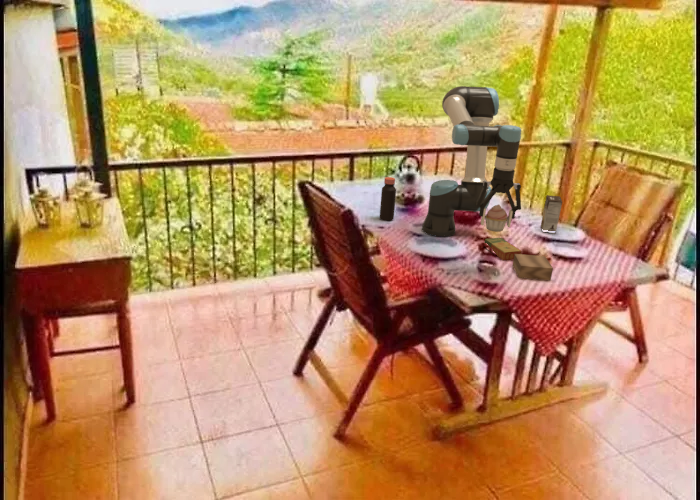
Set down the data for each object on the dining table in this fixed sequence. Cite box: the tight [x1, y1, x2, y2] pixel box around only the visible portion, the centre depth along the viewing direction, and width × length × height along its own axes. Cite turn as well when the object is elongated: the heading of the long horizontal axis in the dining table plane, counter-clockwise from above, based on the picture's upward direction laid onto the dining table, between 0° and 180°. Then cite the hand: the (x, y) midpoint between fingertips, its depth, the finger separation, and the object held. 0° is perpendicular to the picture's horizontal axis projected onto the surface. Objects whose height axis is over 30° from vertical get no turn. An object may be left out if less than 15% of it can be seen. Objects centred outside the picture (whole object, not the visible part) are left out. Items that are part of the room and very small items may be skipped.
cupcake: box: [484, 204, 509, 233], centre depth 216 cm, size 9×9×10 cm
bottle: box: [379, 176, 397, 222], centre depth 267 cm, size 7×7×20 cm
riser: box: [512, 253, 554, 281], centre depth 220 cm, size 12×12×5 cm
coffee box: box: [540, 194, 563, 232], centre depth 266 cm, size 9×6×16 cm
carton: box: [483, 237, 523, 262], centre depth 238 cm, size 8×16×4 cm, turn 18°
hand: (495, 225), depth 218 cm, fingers closed on cupcake, 9 cm apart
